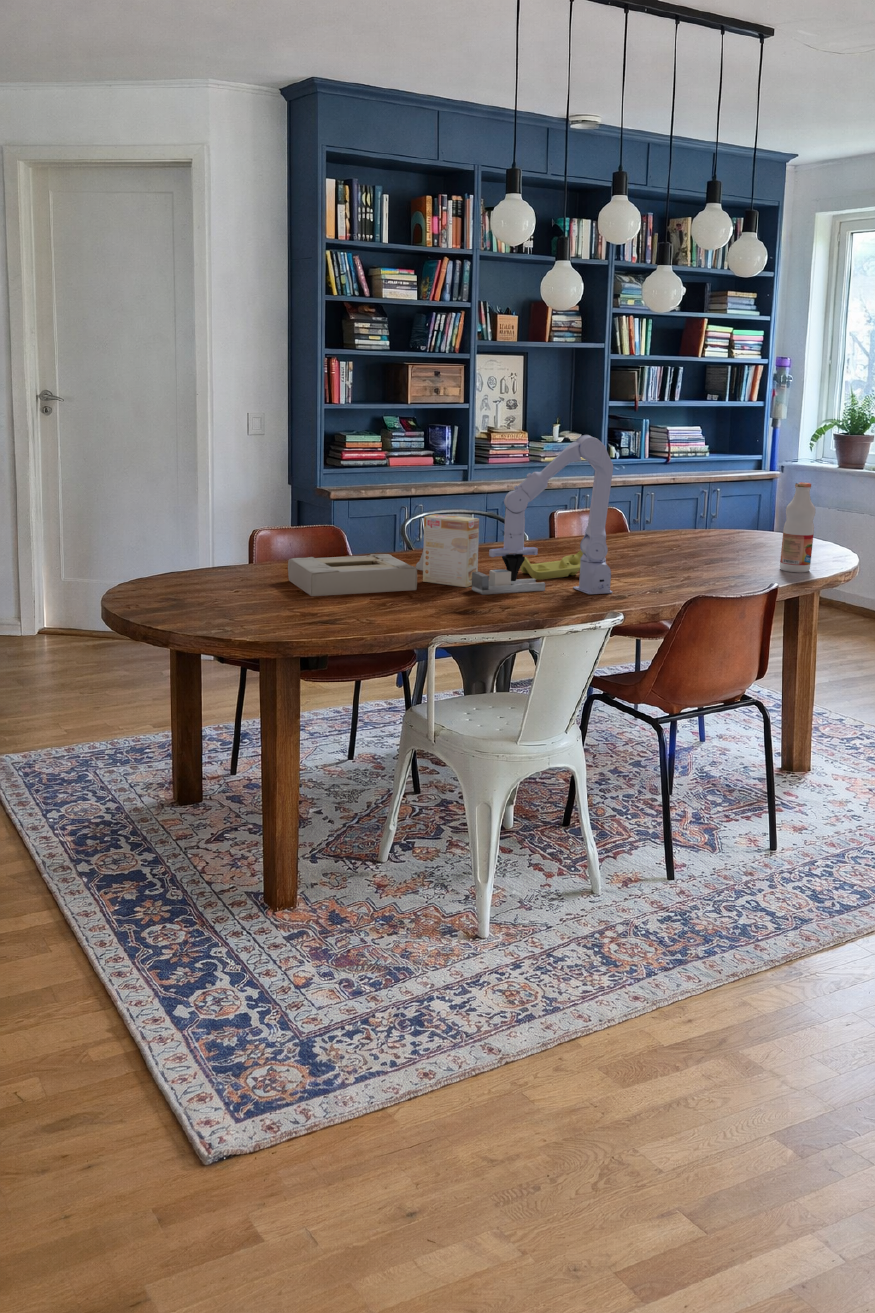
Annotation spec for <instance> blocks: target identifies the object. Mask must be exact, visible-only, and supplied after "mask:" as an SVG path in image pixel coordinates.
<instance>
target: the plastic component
mask: <svg viewBox="0 0 875 1313" xmlns="http://www.w3.org/2000/svg"><path fill="white" fill-rule="evenodd" d="M582 555H583V552H582V551H581V550H579V551H578V552H577V553H576V554H570V555H565V556H564V557H562V558H561V559H560V560H555V561H545V562H539V563H538V562H537V563H531V562H530V560H529V558H528V557H526V556H524V557H525V560H524V562H523V563H522V565H521V567H520V571H521V572H522V573H523V574H526V575H527V574H529V576H530V577H531V579H536V580H549V579H557V578H558V579H559V578H565V577H569V576H577V574H578V572H580V560H581V557H582Z"/></svg>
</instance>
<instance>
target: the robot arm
mask: <svg viewBox="0 0 875 1313" xmlns="http://www.w3.org/2000/svg"><path fill="white" fill-rule="evenodd" d="M582 459H584V460H585V461H587V462H588V464H589V465H590V466H591V467H592V468H593V469H594V477H593V483H592V484H593V485H592V489H591V490H592V493H591V499H590V506H589V514H588V520H587V526H586V528H585V530H584V535H583V537H582V539H581V541H580V544H579V548H580V551H582V552H583V555H582V557H581V560H580V571H579V579H578V580H579V581H578V582H579V583H578V586H577V585H576V586H573V587H572V589H575V590H577V591H579V592H582V593H584V594H587V595H599V594H600V595H601V594H602V595H603V594H613V591H612V590H611V579H612V570H611V568H610V566H609V565H608V564H607V561H606V560H607V558H606V556H607V554H608V551H609V550H608V545H607V534H606V533H607V532H606V523H607V516H608V511H609V510H608V508H609V501H610V494H611V488H612V487H611V486H612V479H613V473H614V463H613V461H612V459H611V457H610V455H609V453H608V450H607V447H606V445H605V444H604V443H602V441H601V440H599V438H596V437H595V436H594V437H593V436H591V435H589V434H584V435H580V436H579V437H577V439H576V440H573V441H572V442H571V443H569V444H568V445H567V446H565V448H564V449H563V450H562V451H561V452H560V453H559V454H558V455H557V456H556V457H555V458H553V459H552V460H551V461H550V462H549V463H548V464H547V465H546V466H544V468H543V469H542V470H541V471H533V472H532V473H531V472H528V473H527V474H526V478H525V479H524V480H522V482H520V483H519V485H515V486H514V487H513V490H510V491H509V492H507V493H506V495H505V498H504V499H503V503H504V504H503V505H504V506H505V507H506V508H505V512H504V514H505V516H504V528H503V530H504V534H503V535H504V536H503V547H500V548H492V549H489V551H488V552H489V553H488V556H489V557H490V558H495V557H501V558H502V561H503V563H504V565H505V568H506V570H508V571H510V572H511V581H516V580H517V578H518V574H519V572H520V570H521V565H522V563H523V562H524V560H525V557H526V556H531V555H533V556H537V555H538V553H539V552H538V550H539V548H537V547H534V546H531V547H528V546H525V528H526V526H525V524H526V517H525V515H526V514H525V512H526V511H525V510H526V509H527V508H528V505H529V504H528V503H530V502H532V501H533V500H534V499H536V498H537V497H538V496H539V495H540V494H541V493H542V492H543V491H545V490H546V489H547V488H548V484H549V480H551V478H554V477H555V475H556V474H558V473H559V472H561V471H562V470H563V469H564V468H565V467H566V466H568V465H569V464H570V463H573V462H582V461H583V460H582Z"/></svg>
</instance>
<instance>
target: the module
mask: <svg viewBox="0 0 875 1313" xmlns="http://www.w3.org/2000/svg"><path fill="white" fill-rule="evenodd" d="M488 576H489V586H493V585H509V584H511V572H510V571H508V570H507V568H506V569H505V568H503V569H490V570H489V574H488Z"/></svg>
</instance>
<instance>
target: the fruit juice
mask: <svg viewBox="0 0 875 1313" xmlns="http://www.w3.org/2000/svg"><path fill="white" fill-rule="evenodd" d="M794 484H795V485H794V488H795V492H794V495H793V497H792V500H791V501H790V502H789V503H788V504H787V506H786V507H785V517H786V519H785V522H784V524H783V529H782V542H781V550H780V551H781V552H780V561H779V569H780V570H781V571H782V572H783V571H784V572H789V573H808V572H810V570H811V562H812V553H813V544H814V543H813V542H814V533H815V524H814V519H815V516H816V507H815V504H813V502H812V499H811V494H810V491H811V490H812V482H803V481H802V482H795V483H794Z"/></svg>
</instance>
